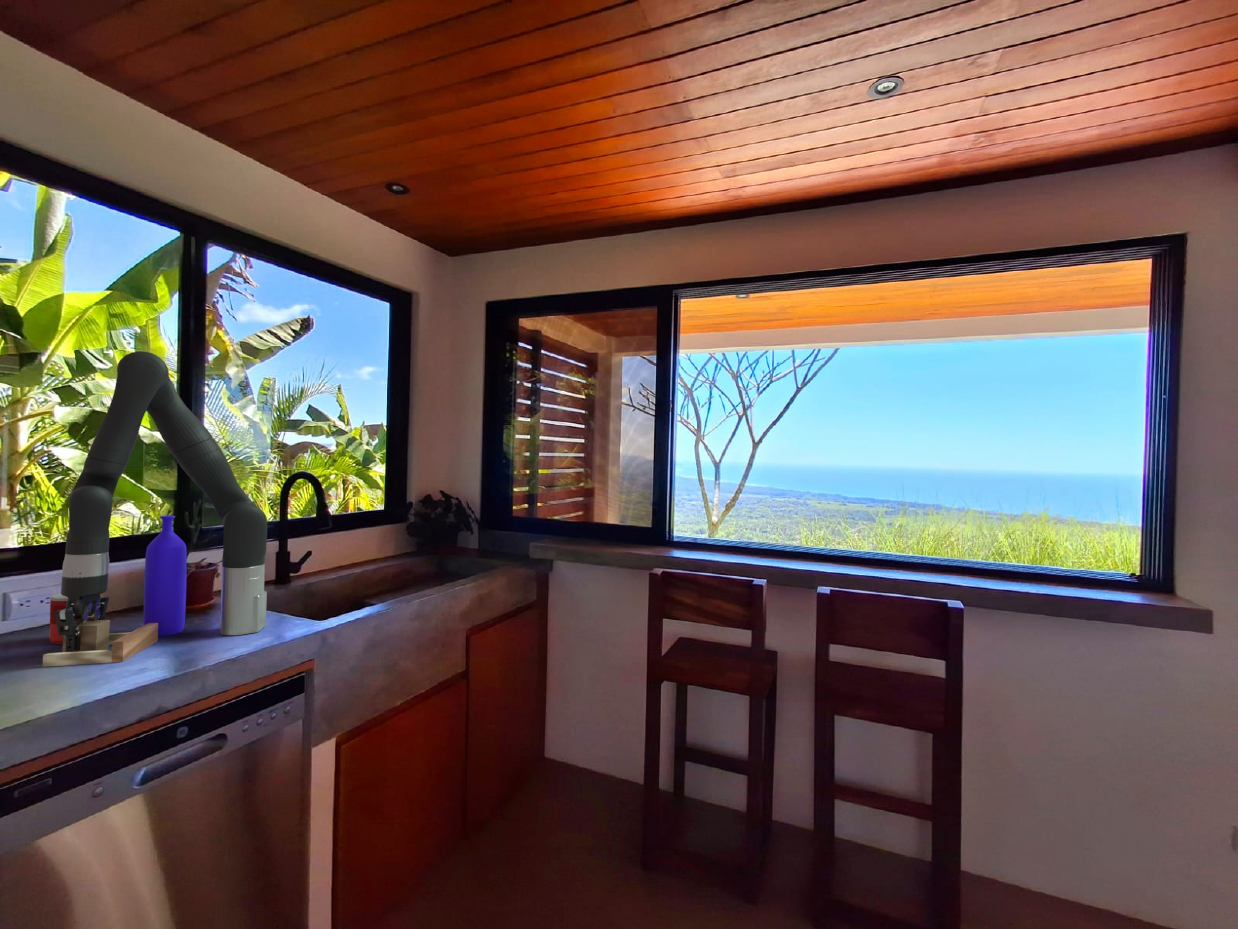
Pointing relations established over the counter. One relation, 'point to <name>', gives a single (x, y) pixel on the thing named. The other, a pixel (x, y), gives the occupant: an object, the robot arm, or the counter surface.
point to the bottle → (165, 581)
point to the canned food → (55, 604)
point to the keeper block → (93, 636)
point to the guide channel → (121, 650)
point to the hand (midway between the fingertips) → (80, 648)
